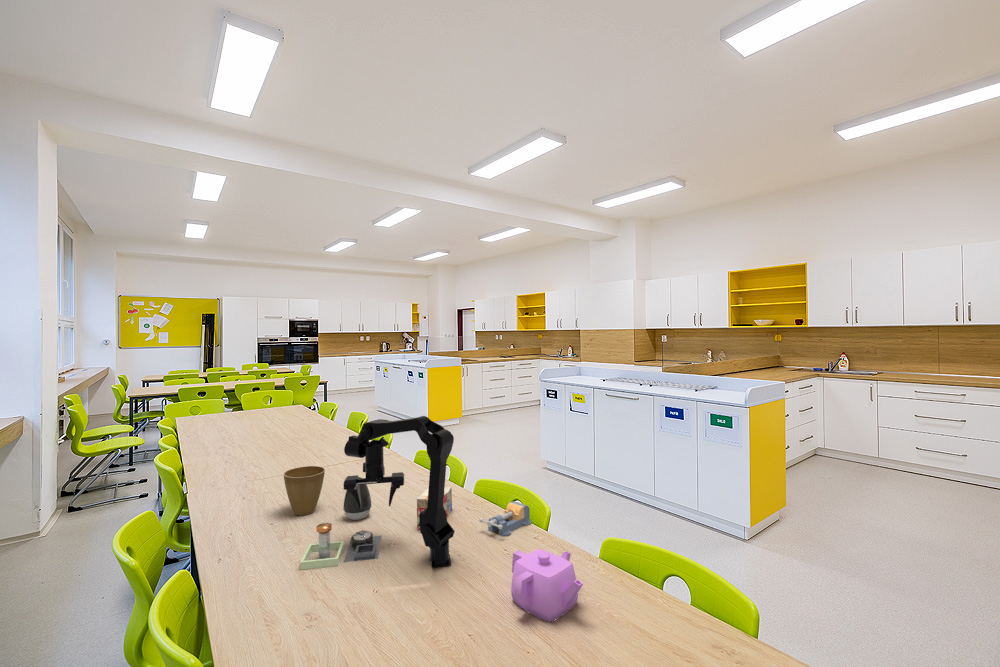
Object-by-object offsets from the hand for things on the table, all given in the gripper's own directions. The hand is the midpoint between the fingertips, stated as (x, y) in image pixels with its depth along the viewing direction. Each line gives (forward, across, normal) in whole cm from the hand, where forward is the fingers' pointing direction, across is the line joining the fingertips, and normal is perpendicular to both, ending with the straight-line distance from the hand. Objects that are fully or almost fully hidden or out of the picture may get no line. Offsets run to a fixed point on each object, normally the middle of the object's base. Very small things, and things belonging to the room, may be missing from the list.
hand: (375, 507), depth 145 cm
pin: (+12, +15, +6) cm, 20 cm away
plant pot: (+13, +30, -36) cm, 49 cm away
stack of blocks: (+13, -20, -16) cm, 29 cm away
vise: (+13, -45, -5) cm, 47 cm away
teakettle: (+13, -46, +40) cm, 62 cm away
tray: (+13, +15, +6) cm, 21 cm away
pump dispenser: (+13, +9, -26) cm, 31 cm away
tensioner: (+13, +4, +2) cm, 14 cm away
